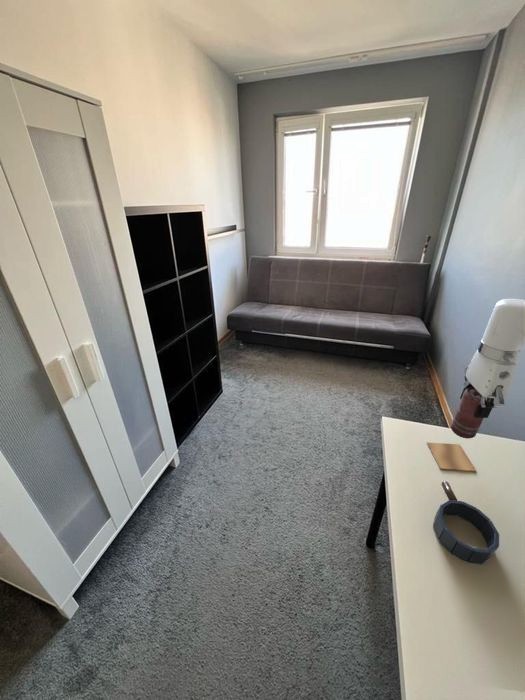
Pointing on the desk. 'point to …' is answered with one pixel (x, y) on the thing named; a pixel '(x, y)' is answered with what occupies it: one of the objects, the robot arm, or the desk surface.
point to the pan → (475, 519)
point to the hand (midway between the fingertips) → (473, 407)
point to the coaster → (451, 457)
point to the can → (467, 414)
